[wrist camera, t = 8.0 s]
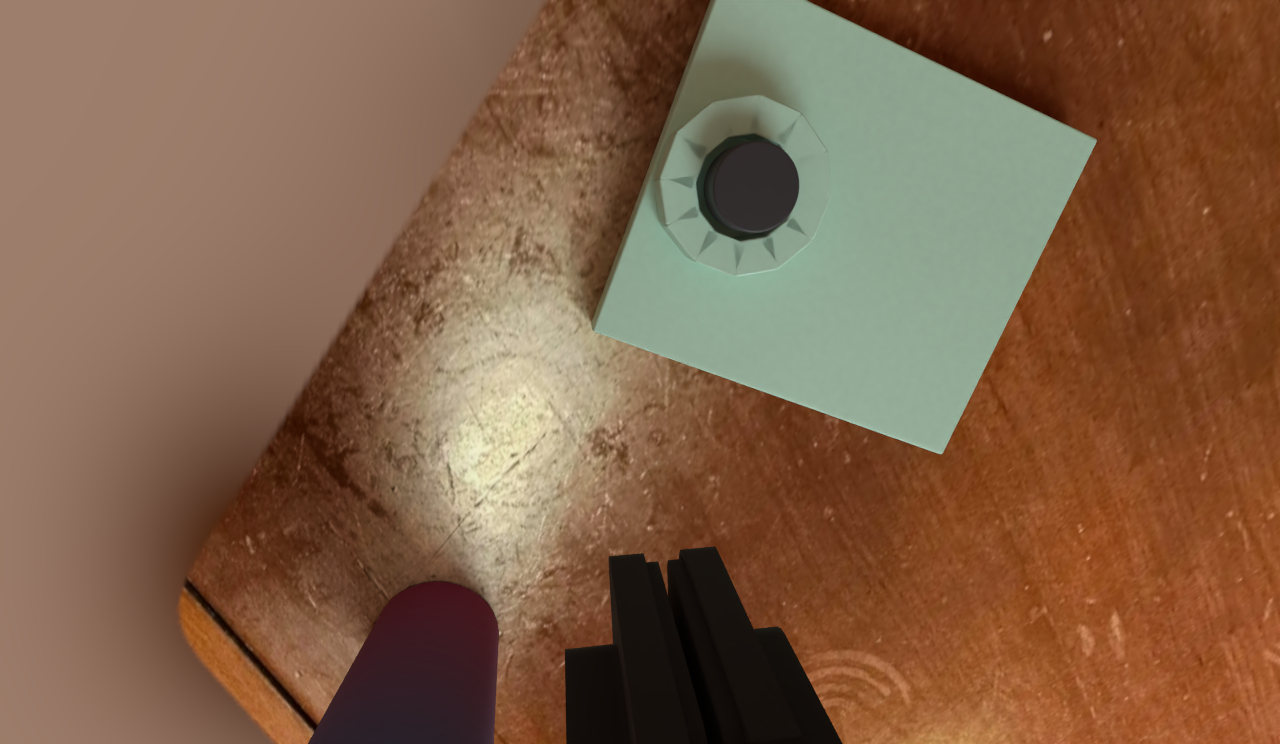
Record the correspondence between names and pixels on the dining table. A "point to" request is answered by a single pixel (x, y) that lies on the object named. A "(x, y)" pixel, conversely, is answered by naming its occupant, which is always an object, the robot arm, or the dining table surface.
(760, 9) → the scale
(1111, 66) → the dining table surface
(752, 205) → the tare button
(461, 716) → the cup
